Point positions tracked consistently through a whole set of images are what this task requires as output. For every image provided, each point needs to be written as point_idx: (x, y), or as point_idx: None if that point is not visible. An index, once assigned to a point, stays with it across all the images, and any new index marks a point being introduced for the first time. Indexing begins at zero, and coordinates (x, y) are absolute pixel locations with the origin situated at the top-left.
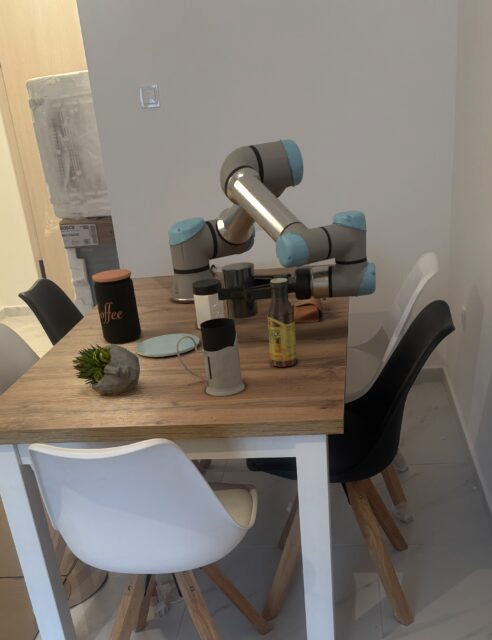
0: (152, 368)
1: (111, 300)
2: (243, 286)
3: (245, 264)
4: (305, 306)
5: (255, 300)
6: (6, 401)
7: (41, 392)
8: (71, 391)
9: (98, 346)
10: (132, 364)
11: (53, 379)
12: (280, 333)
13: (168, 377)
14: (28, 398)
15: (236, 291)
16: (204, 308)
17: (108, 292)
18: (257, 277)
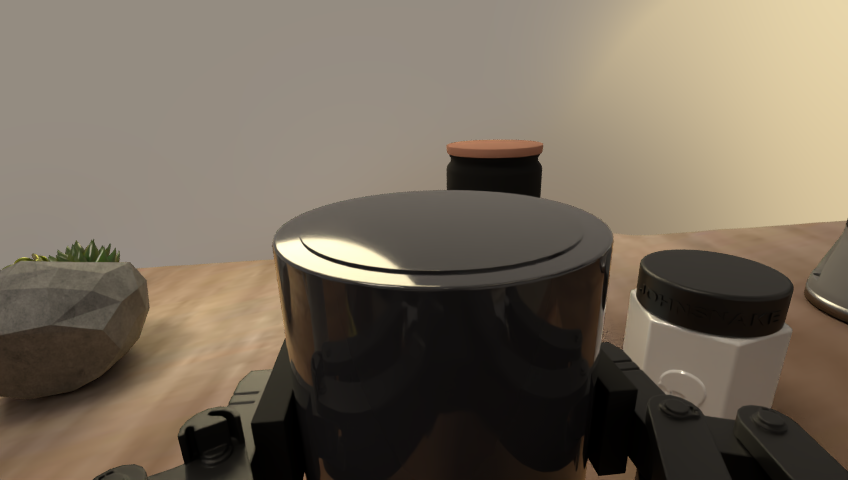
0: (229, 392)
1: None
2: (194, 419)
3: (495, 239)
4: None
5: None
6: (173, 268)
7: (188, 284)
8: (157, 311)
9: (101, 254)
10: None
11: (255, 279)
12: None
13: (95, 456)
14: (166, 281)
15: (250, 403)
16: (636, 353)
17: (447, 178)
18: (719, 455)
